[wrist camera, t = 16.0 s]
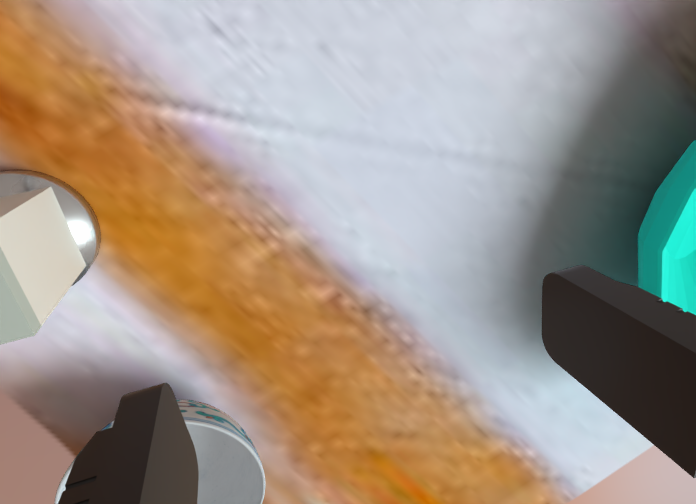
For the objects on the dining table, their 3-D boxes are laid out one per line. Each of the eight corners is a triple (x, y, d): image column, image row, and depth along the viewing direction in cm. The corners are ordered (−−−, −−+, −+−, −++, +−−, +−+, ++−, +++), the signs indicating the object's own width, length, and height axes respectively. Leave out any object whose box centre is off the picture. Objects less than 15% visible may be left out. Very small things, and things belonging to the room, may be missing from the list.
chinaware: (288, 398, 43) (301, 459, 36) (205, 510, 45) (202, 588, 38) (139, 333, 37) (120, 392, 30) (50, 466, 39) (14, 549, 32)
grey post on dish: (-72, 185, 30) (-158, 215, 23) (72, 157, 31) (31, 178, 25) (-8, 302, 33) (-67, 358, 26) (118, 271, 35) (93, 317, 28)
